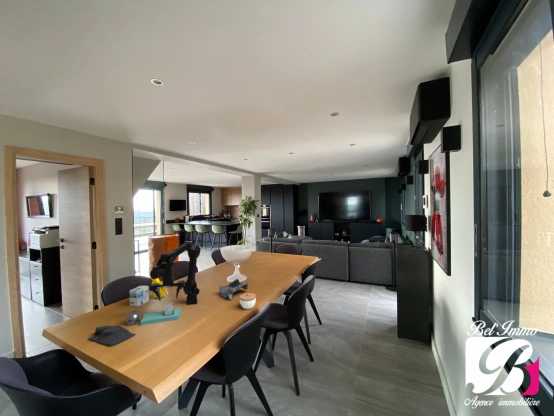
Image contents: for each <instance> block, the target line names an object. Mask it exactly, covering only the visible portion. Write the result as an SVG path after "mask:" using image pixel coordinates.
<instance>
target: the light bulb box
mask: <svg viewBox="0 0 554 416" xmlns="http://www.w3.org/2000/svg"><path fill="white" fill-rule="evenodd" d="M149 301H150V287H149V285H138V286H137V287H135V288H132V289H130V290H129V307H140V306H142V305H143V304H145V303H147V302H149Z"/></svg>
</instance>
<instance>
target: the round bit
mask: <svg viewBox="0 0 554 416" xmlns="http://www.w3.org/2000/svg"><path fill="white" fill-rule="evenodd" d="M125 316H126V317H125V318H126V319H125V321H126V326H127V327H131V326H136V325H137V324H139V323H140V322H141V319H140V311H139V310H132V311H130V312H128V313H126V315H125Z"/></svg>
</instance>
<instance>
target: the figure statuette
mask: <svg viewBox="0 0 554 416" xmlns="http://www.w3.org/2000/svg"><path fill="white" fill-rule="evenodd" d="M155 283H159V285H162V284H163V281H160V279H159V278H157V279H152V281H151V285H152V284H155ZM151 293H152V297H153V298H154V299H158V297H157V295H156V294H155V293H154V292H153V291H151ZM165 295H166V296H167V295H169V293H168V291H167V290H166V287H164V288H160V296H161V298H165ZM158 300H159V299H158Z"/></svg>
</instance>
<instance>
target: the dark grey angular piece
mask: <svg viewBox="0 0 554 416" xmlns="http://www.w3.org/2000/svg"><path fill="white" fill-rule="evenodd" d="M248 286H249V284H248V282H247V281H243V282H240V280H239V278H236V279H235V280H233V281H231V282H230V283H229V284H227V285H219V294H218V295H219V296H220V297H221V298H223V299H227V298H229V299H230V300H231V301H233V293H235V292H238V291H241V289H242V290H245V291H246V290H248Z"/></svg>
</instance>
